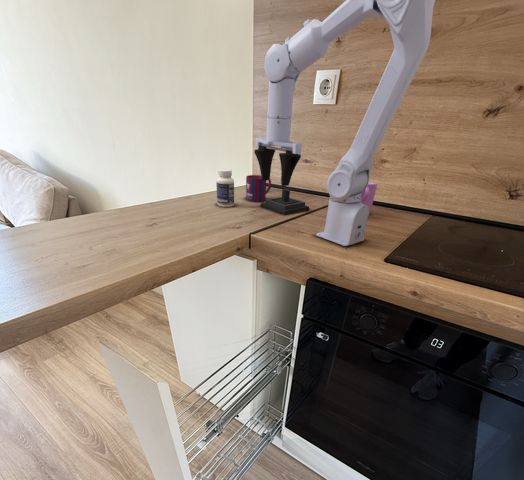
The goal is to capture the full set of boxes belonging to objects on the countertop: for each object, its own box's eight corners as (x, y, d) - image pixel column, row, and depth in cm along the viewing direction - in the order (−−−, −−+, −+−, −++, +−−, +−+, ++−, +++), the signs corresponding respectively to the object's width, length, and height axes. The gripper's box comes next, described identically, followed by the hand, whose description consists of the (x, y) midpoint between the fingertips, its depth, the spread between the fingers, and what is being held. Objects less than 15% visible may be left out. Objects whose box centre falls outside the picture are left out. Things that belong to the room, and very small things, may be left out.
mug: (242, 198, 104) (242, 175, 100) (265, 195, 109) (266, 173, 105) (253, 202, 100) (254, 179, 96) (276, 199, 105) (278, 177, 101)
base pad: (309, 209, 97) (310, 202, 95) (284, 214, 91) (284, 207, 89) (285, 202, 103) (285, 195, 101) (260, 206, 97) (260, 199, 96)
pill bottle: (231, 208, 94) (231, 172, 88) (215, 206, 95) (213, 170, 89) (236, 203, 98) (236, 169, 92) (220, 202, 99) (219, 167, 93)
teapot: (336, 221, 88) (344, 181, 82) (309, 208, 98) (314, 172, 91) (382, 215, 95) (392, 179, 89) (352, 204, 105) (360, 170, 98)
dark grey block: (296, 205, 96) (297, 190, 93) (284, 207, 93) (286, 192, 91) (285, 202, 99) (286, 187, 96) (273, 204, 96) (274, 188, 93)
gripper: (246, 116, 74) (246, 179, 82) (288, 120, 65) (283, 189, 74) (268, 116, 77) (265, 177, 86) (310, 120, 69) (303, 186, 78)
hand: (275, 182), depth 80 cm, fingers open, 7 cm apart
